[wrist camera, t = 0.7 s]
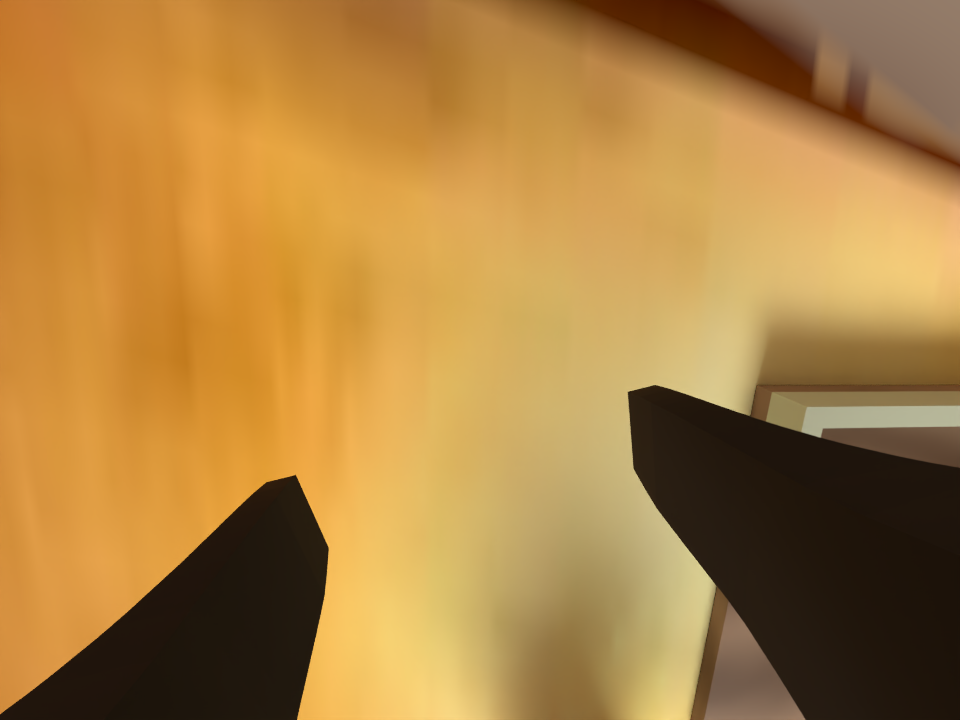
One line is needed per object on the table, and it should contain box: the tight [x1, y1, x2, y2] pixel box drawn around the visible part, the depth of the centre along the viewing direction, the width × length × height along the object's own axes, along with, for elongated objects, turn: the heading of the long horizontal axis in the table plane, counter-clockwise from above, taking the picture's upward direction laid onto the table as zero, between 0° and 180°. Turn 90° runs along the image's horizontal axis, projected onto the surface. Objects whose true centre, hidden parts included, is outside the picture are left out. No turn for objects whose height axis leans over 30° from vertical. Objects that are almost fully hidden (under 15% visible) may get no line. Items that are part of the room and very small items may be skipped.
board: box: [691, 385, 960, 720], centre depth 25 cm, size 22×18×1 cm
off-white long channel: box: [766, 391, 960, 438], centre depth 21 cm, size 5×17×2 cm, turn 88°
